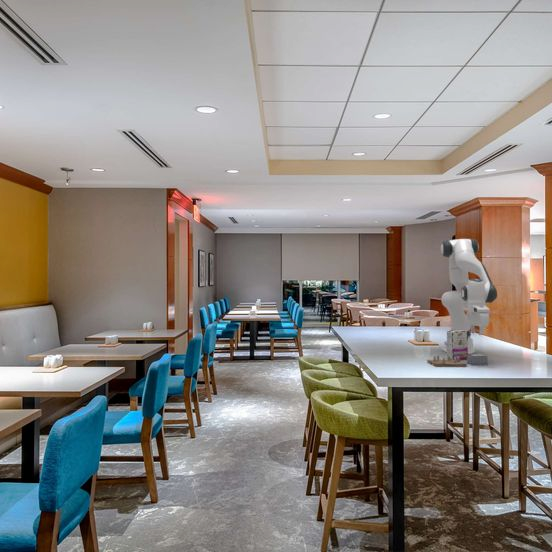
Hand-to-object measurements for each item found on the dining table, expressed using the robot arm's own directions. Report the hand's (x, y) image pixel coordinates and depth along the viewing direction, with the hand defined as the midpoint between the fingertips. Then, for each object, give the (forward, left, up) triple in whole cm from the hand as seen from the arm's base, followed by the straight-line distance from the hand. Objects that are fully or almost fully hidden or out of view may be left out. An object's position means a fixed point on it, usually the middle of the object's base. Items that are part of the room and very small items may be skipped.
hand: (477, 334), depth 254 cm
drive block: (0, 0, -16) cm, 16 cm away
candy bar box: (-17, -4, -17) cm, 24 cm away
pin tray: (+1, -17, -16) cm, 23 cm away
